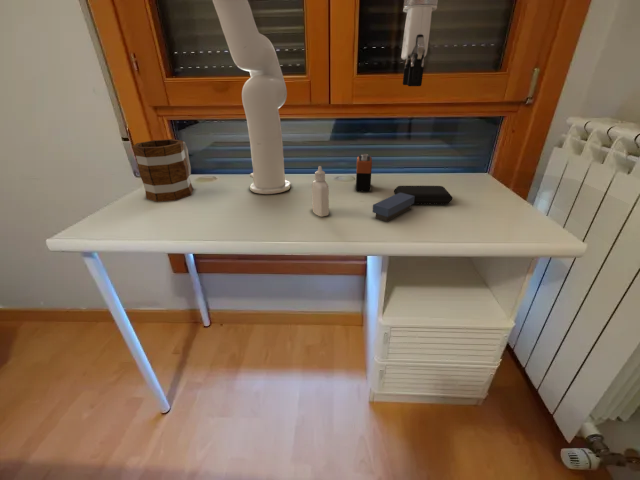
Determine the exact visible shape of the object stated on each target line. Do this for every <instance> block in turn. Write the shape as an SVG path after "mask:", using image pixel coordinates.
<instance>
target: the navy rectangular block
mask: <svg viewBox="0 0 640 480" xmlns="http://www.w3.org/2000/svg"><path fill="white" fill-rule="evenodd" d="M414 199H415V196H412V195H408V194H404V193H398V194H393V195H391V196H389V197H386V198H384V199H382V200H380V201H378V202H376V203H373V205H372V213H374V214H375V219H376V220H380V221H382V222H385V223H387V222H389V221H391V220H393V219H395V218H396V217H399V216H400V215H402V214H404V213H405V212H408V211H410V210H411V206H412V205H415V204H414Z"/></svg>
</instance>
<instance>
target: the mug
mask: <svg viewBox="0 0 640 480" xmlns="http://www.w3.org/2000/svg"><path fill="white" fill-rule="evenodd" d="M131 148H132V151H133V153H134V155H135V158H136V162H137V167H138V173H139V176H140V178H141V181H142V184H143V188H144V191H145V199H146V200H149V201H151V202H156V203H161V202H172V201H178V200H181V199H184V198H186V197H189V196H192V194H193V191H194V187H193V185H192V182H191V178H190V176H191V174H192V167H191V161H190V156H189V148H188V146H187V143H186V142H185V141H184V140H181V139H175V138H174V139H173V138H168V139H152V140H148V141H141V142H137V143H134V144H133V145H132V146H131Z"/></svg>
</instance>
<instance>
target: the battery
mask: <svg viewBox="0 0 640 480" xmlns="http://www.w3.org/2000/svg"><path fill="white" fill-rule="evenodd" d="M372 167H373V158H372V156H371V155H370V156H369V154H367V153H361V154H360V155H358V156H357V158H356V175H355V176H356V177H355V191H356V192H365V193H366V192H367V193H368V192H370V191H371V186H372V185H371V184H372V169H373V168H372Z"/></svg>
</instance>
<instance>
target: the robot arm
mask: <svg viewBox="0 0 640 480" xmlns="http://www.w3.org/2000/svg"><path fill="white" fill-rule="evenodd" d="M211 1H212V4H213V6H214V9H215V11H216V14H217V17H218V21H219V23H220V27H221V30H222V33H223V36H224V38H225V41H226V44H227V47H228V50H229V54H230V56H231V59H232V60H233V62H234V64H235V66H236V67H237V68H238V69H240V70H242V71H245V72H249V76H250V78H248V79H247V80H246V81H245V82H244V84H243V86H242V90H241V100H242V106H243V110H244V114H245V118H246V125H247V130H248V131H247V133H248V138H249V146H250V155H251V164H252V172H251V173H249V177H250V178H252V181H253V182H252V183H250V185H249V190H250V191H251V192H252V193H255V194H260V195H274V194H279V193H283V192H286V191H288V190H289V189H290V188H291V182H290V181H289V180H286V174H285V171H286V170H285V158H284V157H285V156H284V143H283V132H282V122H281V117H280V112H279V109H280V108H281V107H282V106H284V104H285V103H286V101H287V97H288V90H287V86H286V81H285V79H284V74H283V71H282V68H281V65H280V62H279V58H278V55H277V52H276V50H275V47H274V45H273V43H272V42H271V40H270V39H269V38H268V37H267V36H266V35H264V34H262V33H260V32H259V29H258V27H257V25H256V24H257V23H256V22H255V21H256V20H255V18H254V15H253V11H252V7H251V5H250V3H249V0H211ZM438 2H439V1H438V0H403V6H402V7H403V10H402V12H403V13H405V14H406V17H405V24H404V32H403V38H402V39H403V40H402V46H401V47H402V48H401V56H400V58H401V60H403V61H404V68H403V76H402V85H403V86H408V87H421V86H422V84H423V75H424V69H425V68H424V65H425V57H426V56H427V54H428V48H429V40H430V31H431V24H432V12H435V11H437V9H438Z"/></svg>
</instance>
